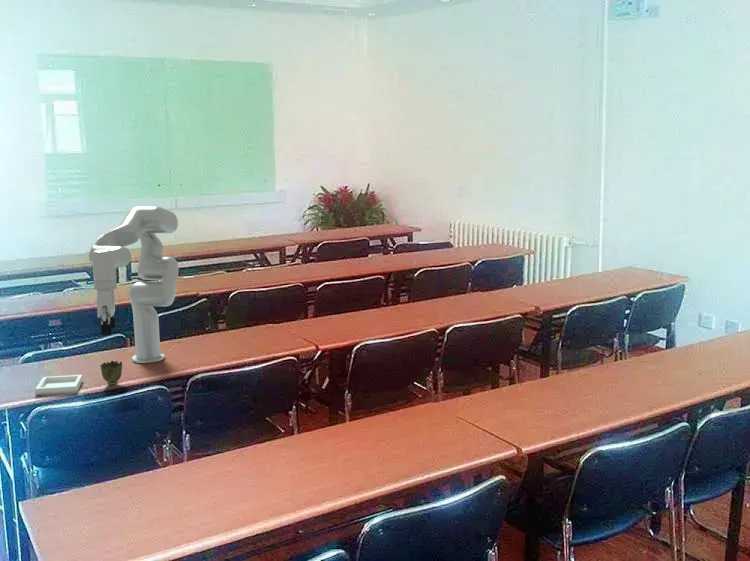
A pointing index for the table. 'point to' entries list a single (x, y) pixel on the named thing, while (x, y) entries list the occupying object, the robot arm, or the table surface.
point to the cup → (111, 372)
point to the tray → (59, 385)
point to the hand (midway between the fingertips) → (108, 331)
